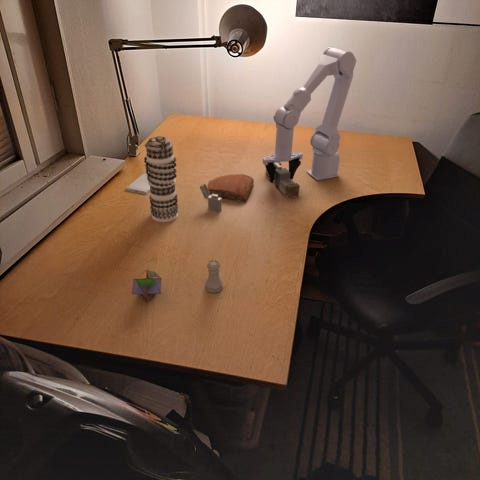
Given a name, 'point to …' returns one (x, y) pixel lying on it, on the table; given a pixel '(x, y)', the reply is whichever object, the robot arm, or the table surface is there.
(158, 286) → the geometric puzzle
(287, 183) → the door frame
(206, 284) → the rook chess piece
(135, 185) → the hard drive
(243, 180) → the ceramic shard
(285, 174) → the grey block
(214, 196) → the lighter
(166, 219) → the decorative candle
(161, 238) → the table surface
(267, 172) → the cream bar
